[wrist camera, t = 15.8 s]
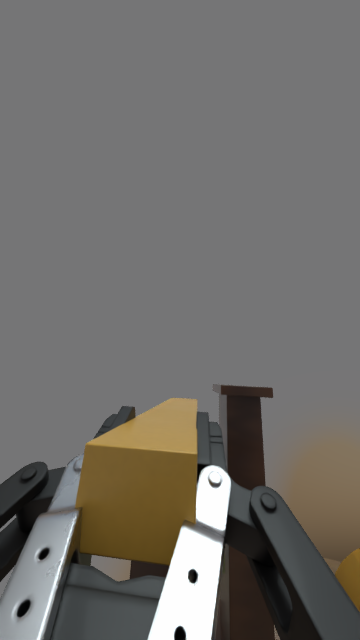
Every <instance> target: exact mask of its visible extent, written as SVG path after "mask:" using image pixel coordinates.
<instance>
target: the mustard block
mask: <svg viewBox="0 0 360 640" xmlns="http://www.w3.org/2000/svg"><path fill="white" fill-rule="evenodd" d="M196 417H197V399H184V398H171V399H169V400H167V401H165V402H163V403H161V404H160V405H158V406H156V407H154V408H152V409H150V410H148V411H146V412H144V413H143V414H141V415H139V416H137V417H135V418H133V419H132V420H130V421H128V422H126V423H124V424H122V425H120V426H118V427H116V428H114V429H112V430H110V431H109V432H107V433H105V434H103V435H101V436H99V437H97V438H95V439H93V440H92V441H90V442H88V443H86V446H85V451H84V457H83V463H82V469H81V474H80V480H79V486H78V492H77V498H76V503H75V508H77V507H82V523H81V539H80V553H83V554H90V555H98V556H105V557H112V558H118V559H126V560H132V561H139V562H146V563H153V564H160V565H167V566H170V563H171V560H172V557H173V553H174V550H175V547H176V543H177V540H178V537H179V534H180V530H181V527H182V524H183V522H184V520H188V521H190V522H192V523H195V524H196V498H197V456H198V449H197V429H196Z"/></svg>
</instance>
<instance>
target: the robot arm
mask: <svg viewBox="0 0 360 640" xmlns="http://www.w3.org/2000/svg"><path fill="white" fill-rule="evenodd" d="M133 418H135V407H128V406H122V407H121V409H120V411H119V412H118V414H112V415H111V416H110V417H109V418H107V419H106V420H105V422H104V423H103V425H102V427H101V428H100V430H99V431H98V433H97V434H96V436H95V437H94V439H95V438H97V437H99V436H101V435H103V434H105V433H107V432H109V431H110V430H112V429H114V428H116V427H118V426H120V425H122V424H124V423H126V422H128V421H130V420H132V419H133ZM196 429H197V449H198V456H197V498H196V524H195V523H192V522H190V521H188V520H184V522H183V524H182V527H181V530H180V534H179V537H178V540H177V543H176V547H175V550H174V553H173V557H172V560H171V563H170V567H169V570H168V573H167V577H166V578H165V577H158V576H152V575H147V576H143V577H138V578H134V579H129V580H125V581H120V582H118V581H115V580H113V579H112V578H110V577H109V576H107V575H106V574H104V573H102V572H101V571H99V570H98V569H96V568H95V567H93V566H90V565H91V564H90V563H91V555H90V554H83V553H80V539H81V523H82V507H77V508H75V503H76V498H77V492H78V486H79V480H80V474H81V469H82V463H83V457H84V454H81V455H78V456H76V457H75V458H73V459H72V460H71V461H70V462H69V463H68V464H67V466H66V467H63V468H57V469H52V470H48V468H47V465H46V464H45V463H44V462H35V463H31V464H29V465H27V466H25V467H23V468H22V469H20V470H19V471H18V472H16V473H15V474H14V475H12V476H11V477H10V478H9V479H7V480H6V481H4V482H3V483H2V484H0V528H1V527H2V526H3V525H5V524H6V523H7V522H8V521H9V520H10V519H11V518H12V517H13V516H14V515H15V514H16V518H15V519H14V520H13V521H12V522H11V523H10V524H9V525H8V526H7V527H6V528H5V529H3V530H2V531H1V532H0V582H1V580H2V579H3V578H4V577H5V576H6V575H7V574H8V573H9V571H10V570H11V569H12V568H13V567H14V566H15V568H14V570H13V572H12V574H11V577H10V578H9V581H8V583H7V585H6V587H5V590H4V592H3V594H2V596H1V599H0V640H215V636H216V627H217V618H218V609H219V599H220V589H221V580H222V572H223V563H224V555H225V546H226V544H227V545H229V546H231V547H233V548H234V549H236V550H238V551H240V552H241V553H243V554H245V555H246V556H247V559H248V562H249V564H250V567H251V569H252V571H253V574H254V576H255V579H256V581H257V584H258V586H259V589H260V591H261V593H262V596H263V598H264V601H265V603H266V606H267V608H268V611H269V613H270V615H271V618H272V620H273V623H274V625H275V628H276V630H277V633H278V635H279V637H280V640H360V612H359V611H358V609H357V608H356V606H355V605H354V603H353V602H352V600H351V599H350V597H349V596H348V594H347V593H346V591H345V590H344V588H343V587H342V585H341V584H340V582H339V581H338V580H337V578H336V577H335V575H334V574H333V572H332V571H331V569H330V568H329V566H328V565H327V563H326V562H325V560H324V559H323V557H322V556H321V554H320V553H319V552H318V550H317V549H316V547H315V546H314V544H313V543H312V541H311V540H310V538H309V537H308V536H307V534H306V532H305V531H304V529H303V528H302V526H301V525H300V524H299V522H298V521H297V519H296V518H295V516H294V515H293V513H292V512H291V510H290V509H289V507H288V506H287V504H286V503H285V501H284V500H283V499H282V497H281V496H280V495H279V494H278V493H277V492H276V491H274V490H273V489H271V488H269V487H266V486H257V487H255V488H254V489H253V490H252V491H251V490H248V489H246V488H244V487H242V486H240V485H238V484H237V483H235V482H234V481H233V480H232V478H231V477H230V476H229V474H228V471H227V466H226V459H225V452H224V445H223V438H222V430H221V428H220V426H219V425H218V423H217V422H209V416H208V412H197V417H196Z"/></svg>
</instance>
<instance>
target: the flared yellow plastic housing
mask: <svg viewBox="0 0 360 640" xmlns="http://www.w3.org/2000/svg"><path fill="white" fill-rule="evenodd" d="M335 577H336V578H337V580H338V581H339V582H340V584H341V585H342V587H343V588H344V590H345V591H346V593H347V594H348V596H349V597H350V599H351V600H352V602H353V603H354V605H355V606H356V608H357V609H358V611H359V612H360V548H359V549H357V550H355V551H353V552H352V553H351V554H350V555H349V556H348V557H346V558H345V559H344V560H343V561H342V563H341V564H340V566H339V568H338V569H337V571H336V573H335Z"/></svg>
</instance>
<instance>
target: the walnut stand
mask: <svg viewBox="0 0 360 640" xmlns="http://www.w3.org/2000/svg"><path fill="white" fill-rule="evenodd" d="M213 391H215V392H217V393H219V426H220V428H221V430H222V438H223V445H224V452H225V459H226V466H227V471H228V474H229V476H230V477H231V478H232V480H233V481H234V482H235V483H237V484H238V485H240V486H242V487H244V488H246V489H248V490H251V491H252V490H253V489H254V488H255V487H257V486H265V469H264V453H263V436H262V419H261V402H260V397H268V398H273V389H272V388H268V387H251V386H233V385H217V384H213ZM169 567H170V566H167V565H160V564H153V563H146V562H139V561H132V560H131V570H130V579H134V578H138V577H143V576H147V575H152V576H158V577H165V578H166V577H167V573H168V570H169ZM215 640H275V635H274V623H273V620H272V618H271V615H270V613H269V611H268V608H267V606H266V603H265V601H264V598H263V596H262V593H261V591H260V589H259V586H258V584H257V581H256V579H255V576H254V574H253V571H252V569H251V567H250V564H249V562H248V559H247V556H246V555H245V554H243V553H241V552H240V551H238V550H236V549H234V548H233V547H231V546H229V545H227V544H226V546H225V555H224V563H223V572H222V580H221V589H220V599H219V609H218V618H217V627H216V636H215Z"/></svg>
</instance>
